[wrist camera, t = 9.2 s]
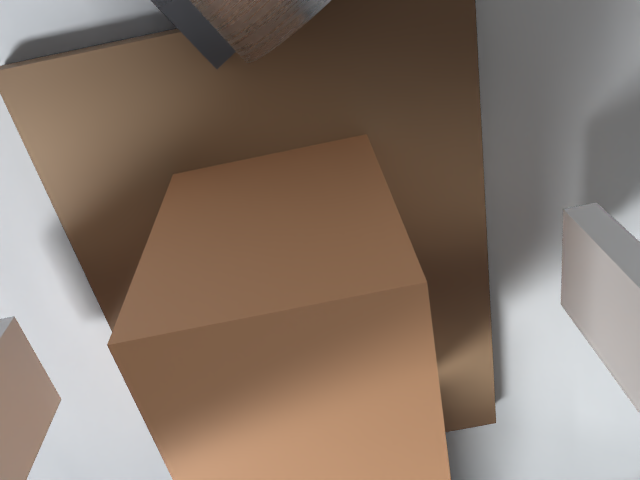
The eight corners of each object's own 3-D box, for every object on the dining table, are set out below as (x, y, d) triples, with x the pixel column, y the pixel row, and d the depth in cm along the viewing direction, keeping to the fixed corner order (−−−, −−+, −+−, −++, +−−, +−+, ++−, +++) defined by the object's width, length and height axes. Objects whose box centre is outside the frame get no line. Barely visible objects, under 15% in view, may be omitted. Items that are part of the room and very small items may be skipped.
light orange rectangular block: (172, 174, 13) (106, 345, 8) (366, 133, 13) (427, 281, 8) (257, 418, 17) (250, 638, 12) (407, 389, 17) (465, 600, 12)
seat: (489, 408, 19) (495, 422, 18) (184, 465, 19) (182, 480, 18) (465, -33, 12) (473, -30, 12) (2, 65, 12) (-10, 72, 12)
